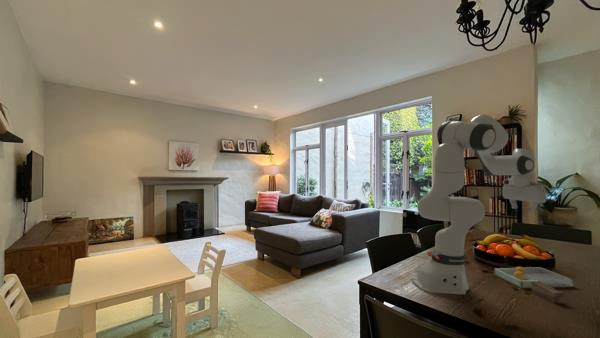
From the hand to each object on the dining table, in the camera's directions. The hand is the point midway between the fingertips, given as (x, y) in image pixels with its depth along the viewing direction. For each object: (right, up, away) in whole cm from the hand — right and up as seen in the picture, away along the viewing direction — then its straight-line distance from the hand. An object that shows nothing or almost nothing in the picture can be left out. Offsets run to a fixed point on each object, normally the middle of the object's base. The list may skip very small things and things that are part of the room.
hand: (523, 209), depth 127 cm
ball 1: (-6, -28, -6) cm, 29 cm away
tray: (-11, -31, -9) cm, 34 cm away
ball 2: (-10, -29, -10) cm, 32 cm away
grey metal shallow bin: (+1, -31, -8) cm, 32 cm away
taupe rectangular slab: (-12, -31, -24) cm, 41 cm away
